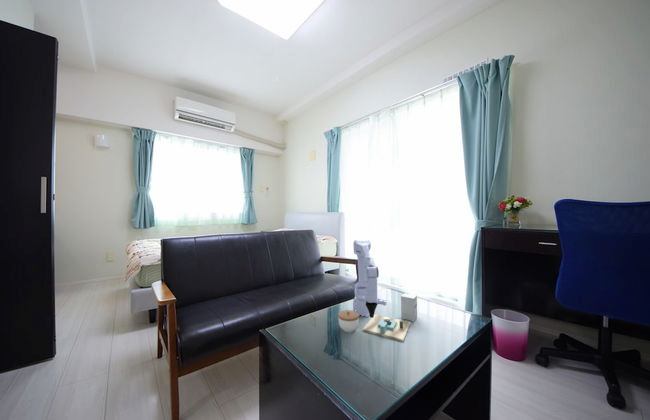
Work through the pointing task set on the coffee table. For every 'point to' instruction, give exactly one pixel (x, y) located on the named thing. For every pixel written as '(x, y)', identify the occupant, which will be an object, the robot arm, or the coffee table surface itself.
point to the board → (396, 334)
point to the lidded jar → (348, 320)
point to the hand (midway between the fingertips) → (372, 316)
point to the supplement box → (409, 306)
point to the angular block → (384, 325)
